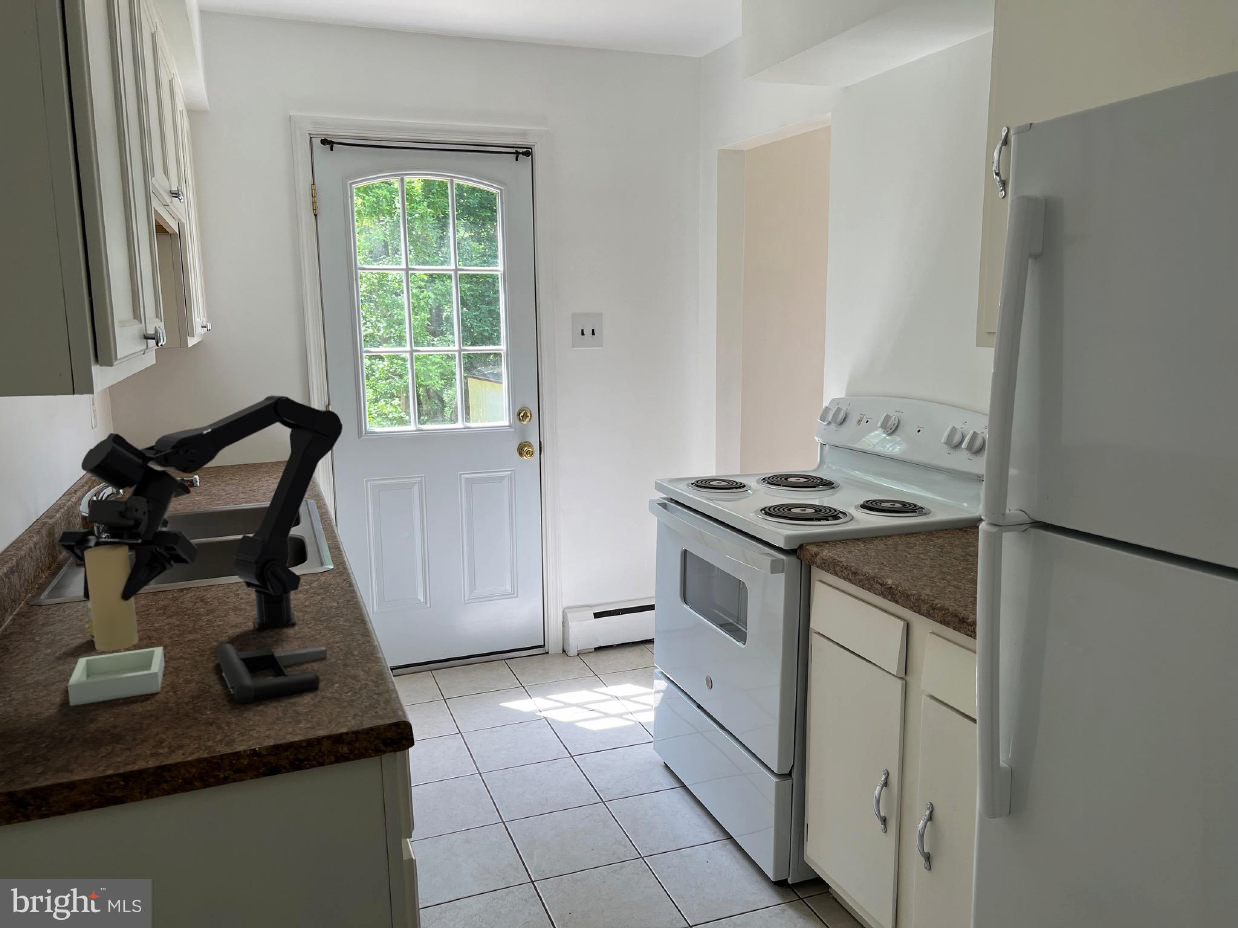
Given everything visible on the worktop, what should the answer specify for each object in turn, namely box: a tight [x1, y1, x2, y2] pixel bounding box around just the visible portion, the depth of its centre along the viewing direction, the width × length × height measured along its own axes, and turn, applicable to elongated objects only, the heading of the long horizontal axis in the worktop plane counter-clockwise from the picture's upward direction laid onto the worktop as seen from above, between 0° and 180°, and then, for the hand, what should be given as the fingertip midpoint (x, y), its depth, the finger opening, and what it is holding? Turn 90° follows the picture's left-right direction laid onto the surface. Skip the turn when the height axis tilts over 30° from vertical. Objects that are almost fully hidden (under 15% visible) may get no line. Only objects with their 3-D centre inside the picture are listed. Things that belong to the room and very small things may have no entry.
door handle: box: [210, 643, 328, 704], centre depth 133 cm, size 3×20×16 cm
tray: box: [67, 646, 165, 707], centre depth 130 cm, size 11×11×3 cm
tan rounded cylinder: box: [84, 545, 139, 652], centre depth 128 cm, size 5×5×14 cm
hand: (105, 599), depth 127 cm, fingers closed on tan rounded cylinder, 5 cm apart
